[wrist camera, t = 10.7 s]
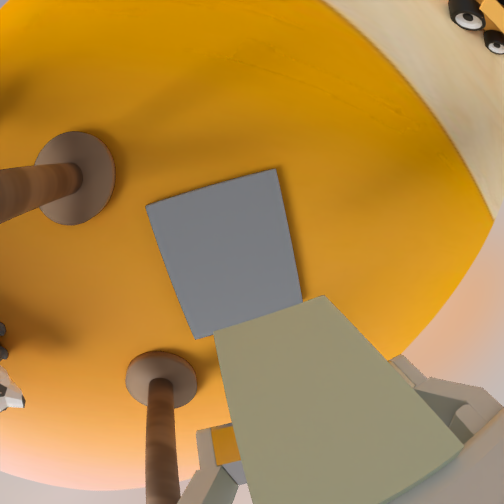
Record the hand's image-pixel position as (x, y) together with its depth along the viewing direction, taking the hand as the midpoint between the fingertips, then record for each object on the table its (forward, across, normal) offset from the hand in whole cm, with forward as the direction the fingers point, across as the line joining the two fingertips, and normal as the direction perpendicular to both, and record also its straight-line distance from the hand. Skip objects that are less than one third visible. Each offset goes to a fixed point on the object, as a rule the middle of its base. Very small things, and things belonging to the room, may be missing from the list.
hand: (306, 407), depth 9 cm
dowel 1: (+16, +10, -10) cm, 21 cm away
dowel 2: (+16, +10, +10) cm, 21 cm away
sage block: (+3, 0, 0) cm, 3 cm away
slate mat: (+16, 0, 0) cm, 16 cm away
